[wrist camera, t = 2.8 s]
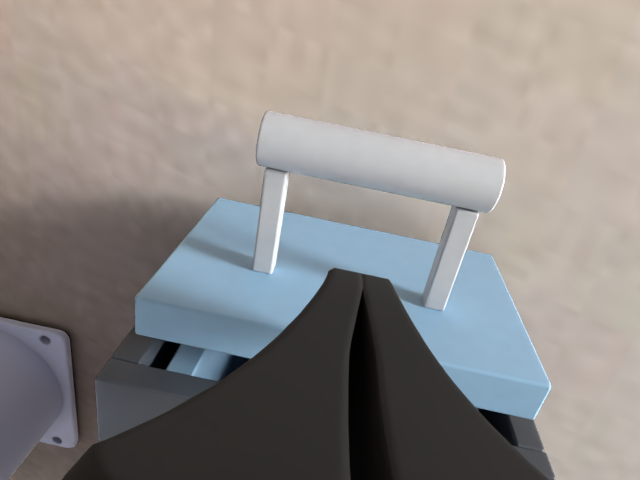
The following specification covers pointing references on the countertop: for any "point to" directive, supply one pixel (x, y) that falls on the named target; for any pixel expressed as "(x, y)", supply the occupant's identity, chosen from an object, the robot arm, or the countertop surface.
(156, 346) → the dark grey drawer cabinet
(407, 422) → the robot arm
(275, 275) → the blue drawer
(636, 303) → the countertop surface
